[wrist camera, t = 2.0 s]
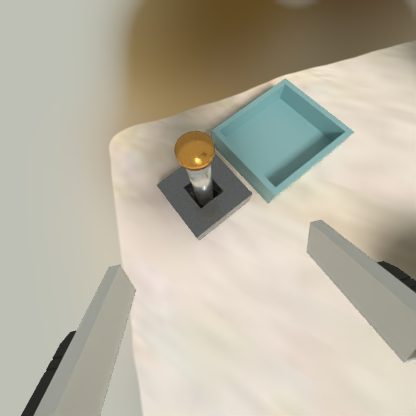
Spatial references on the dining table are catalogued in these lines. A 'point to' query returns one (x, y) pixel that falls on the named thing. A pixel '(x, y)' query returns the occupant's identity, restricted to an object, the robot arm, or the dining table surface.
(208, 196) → the pin
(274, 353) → the dining table surface
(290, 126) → the tray
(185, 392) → the dining table surface
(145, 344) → the dining table surface
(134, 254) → the dining table surface
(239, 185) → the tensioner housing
